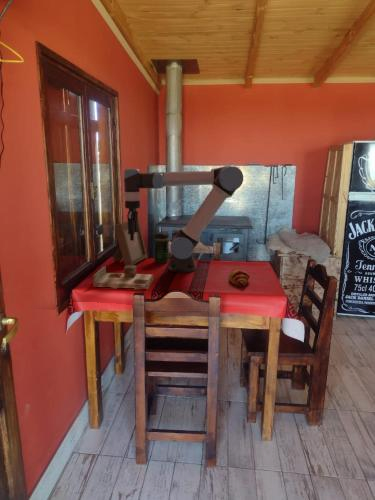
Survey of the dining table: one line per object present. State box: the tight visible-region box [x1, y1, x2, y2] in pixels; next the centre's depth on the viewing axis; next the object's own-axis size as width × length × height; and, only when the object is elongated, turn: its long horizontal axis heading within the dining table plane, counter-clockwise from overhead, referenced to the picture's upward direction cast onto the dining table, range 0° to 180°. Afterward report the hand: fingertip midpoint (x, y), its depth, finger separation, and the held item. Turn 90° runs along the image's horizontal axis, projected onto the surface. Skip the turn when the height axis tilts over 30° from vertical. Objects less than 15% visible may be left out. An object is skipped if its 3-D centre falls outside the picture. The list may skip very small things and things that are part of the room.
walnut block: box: [123, 264, 137, 278], centre depth 180 cm, size 5×5×5 cm
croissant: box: [228, 269, 250, 287], centre depth 181 cm, size 21×10×8 cm, turn 3°
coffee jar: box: [154, 230, 170, 264], centre depth 215 cm, size 10×8×19 cm
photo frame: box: [113, 219, 148, 267], centre depth 214 cm, size 15×22×25 cm
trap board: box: [92, 265, 154, 290], centre depth 177 cm, size 26×16×6 cm, turn 85°
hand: (133, 245), depth 186 cm, fingers open, 4 cm apart
